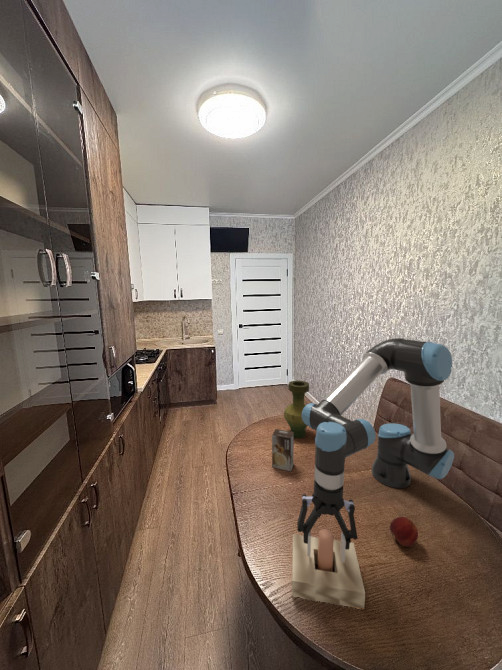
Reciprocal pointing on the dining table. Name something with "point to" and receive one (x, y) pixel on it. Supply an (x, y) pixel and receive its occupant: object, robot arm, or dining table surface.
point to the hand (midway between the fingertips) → (325, 554)
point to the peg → (325, 550)
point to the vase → (297, 408)
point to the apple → (404, 531)
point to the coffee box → (282, 449)
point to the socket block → (326, 575)
